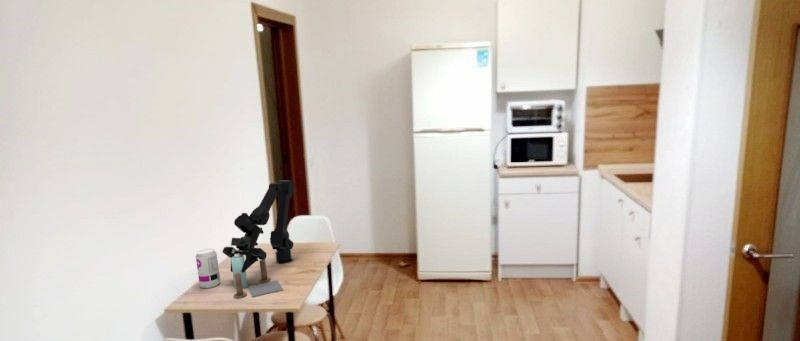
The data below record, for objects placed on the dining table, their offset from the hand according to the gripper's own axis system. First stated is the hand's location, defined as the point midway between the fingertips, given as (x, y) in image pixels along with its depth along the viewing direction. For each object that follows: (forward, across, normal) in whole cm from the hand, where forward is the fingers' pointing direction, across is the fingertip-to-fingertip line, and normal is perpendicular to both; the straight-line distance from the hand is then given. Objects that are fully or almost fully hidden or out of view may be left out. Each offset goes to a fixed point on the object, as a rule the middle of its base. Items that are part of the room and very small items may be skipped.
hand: (236, 271), depth 189 cm
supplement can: (+5, -16, +6) cm, 17 cm away
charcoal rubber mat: (+4, +12, +6) cm, 14 cm away
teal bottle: (+4, 0, +6) cm, 7 cm away
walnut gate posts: (+4, +6, +6) cm, 9 cm away
